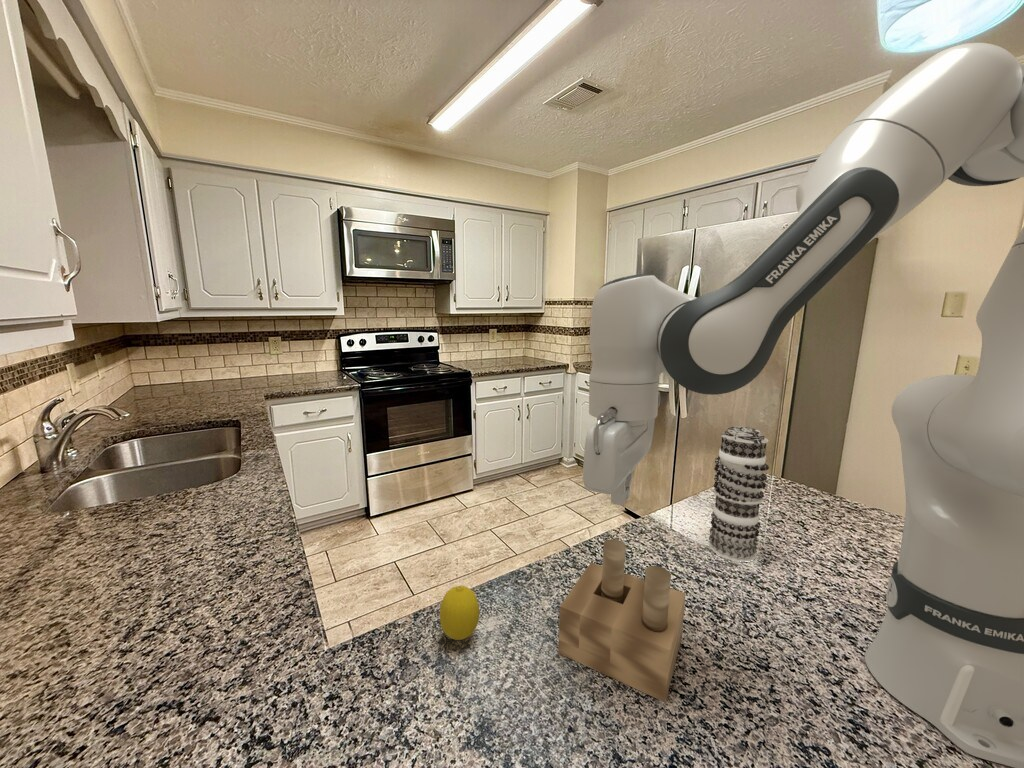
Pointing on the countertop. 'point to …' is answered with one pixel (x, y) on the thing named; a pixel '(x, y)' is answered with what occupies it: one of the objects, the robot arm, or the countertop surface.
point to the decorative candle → (738, 493)
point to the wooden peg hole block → (625, 629)
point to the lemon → (459, 612)
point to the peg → (613, 570)
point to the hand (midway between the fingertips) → (620, 501)
